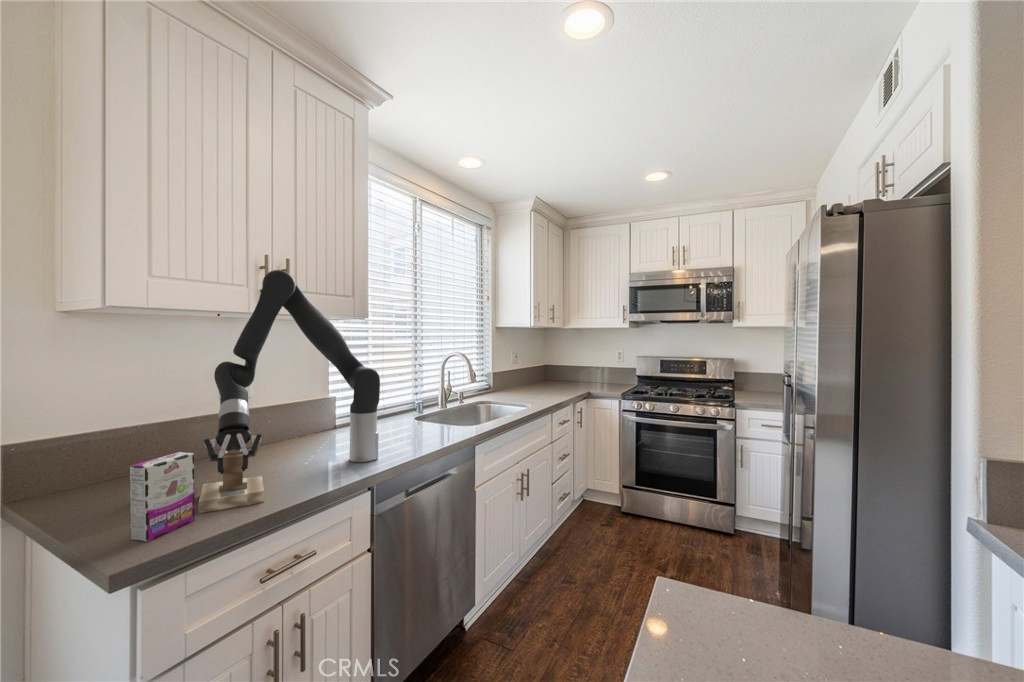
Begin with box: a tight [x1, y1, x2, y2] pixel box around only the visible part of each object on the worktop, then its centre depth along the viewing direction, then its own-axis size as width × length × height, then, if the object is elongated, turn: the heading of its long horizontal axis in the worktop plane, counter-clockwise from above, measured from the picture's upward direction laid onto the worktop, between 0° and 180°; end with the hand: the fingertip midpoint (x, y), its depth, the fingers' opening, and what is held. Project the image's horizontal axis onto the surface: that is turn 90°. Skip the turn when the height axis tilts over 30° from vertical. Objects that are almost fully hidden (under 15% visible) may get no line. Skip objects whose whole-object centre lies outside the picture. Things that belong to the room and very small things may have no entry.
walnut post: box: [222, 451, 244, 488], centre depth 115 cm, size 4×4×8 cm
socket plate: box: [198, 475, 265, 514], centre depth 115 cm, size 14×14×3 cm
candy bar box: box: [129, 451, 196, 543], centre depth 96 cm, size 11×5×16 cm, turn 168°
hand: (233, 471), depth 113 cm, fingers closed on walnut post, 4 cm apart
